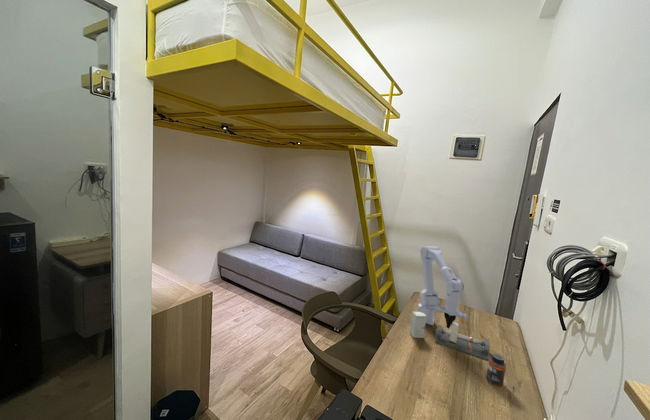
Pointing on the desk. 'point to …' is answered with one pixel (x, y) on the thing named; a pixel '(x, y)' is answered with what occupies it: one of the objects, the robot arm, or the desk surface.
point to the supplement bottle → (496, 370)
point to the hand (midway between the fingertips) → (447, 327)
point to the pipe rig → (463, 343)
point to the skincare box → (417, 324)
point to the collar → (453, 332)
